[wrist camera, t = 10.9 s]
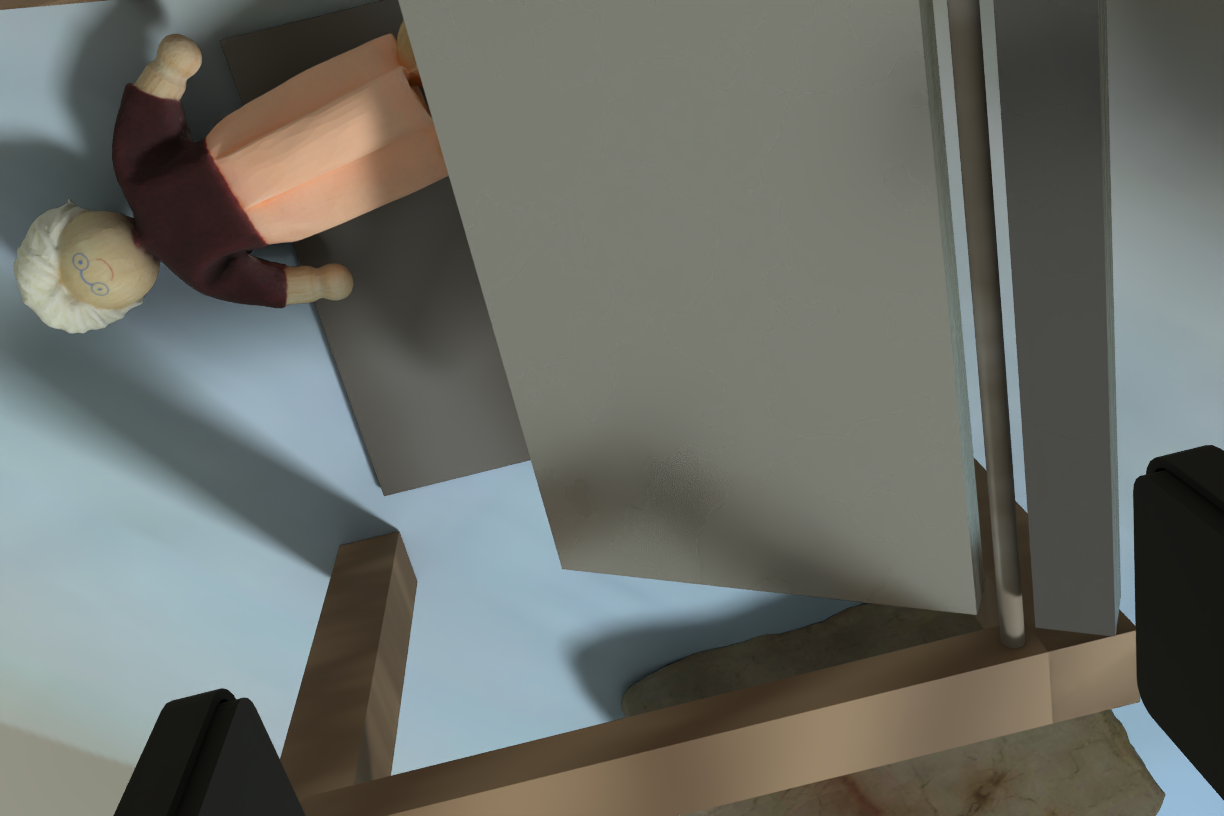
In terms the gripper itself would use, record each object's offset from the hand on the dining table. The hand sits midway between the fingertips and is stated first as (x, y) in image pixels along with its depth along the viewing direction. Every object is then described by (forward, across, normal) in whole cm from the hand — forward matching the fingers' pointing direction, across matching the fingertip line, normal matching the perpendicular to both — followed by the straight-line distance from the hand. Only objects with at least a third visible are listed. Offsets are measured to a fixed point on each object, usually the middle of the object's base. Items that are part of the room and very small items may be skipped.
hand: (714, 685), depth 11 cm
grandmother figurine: (+20, +2, -5) cm, 20 cm away
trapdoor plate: (+12, -4, 0) cm, 13 cm away
